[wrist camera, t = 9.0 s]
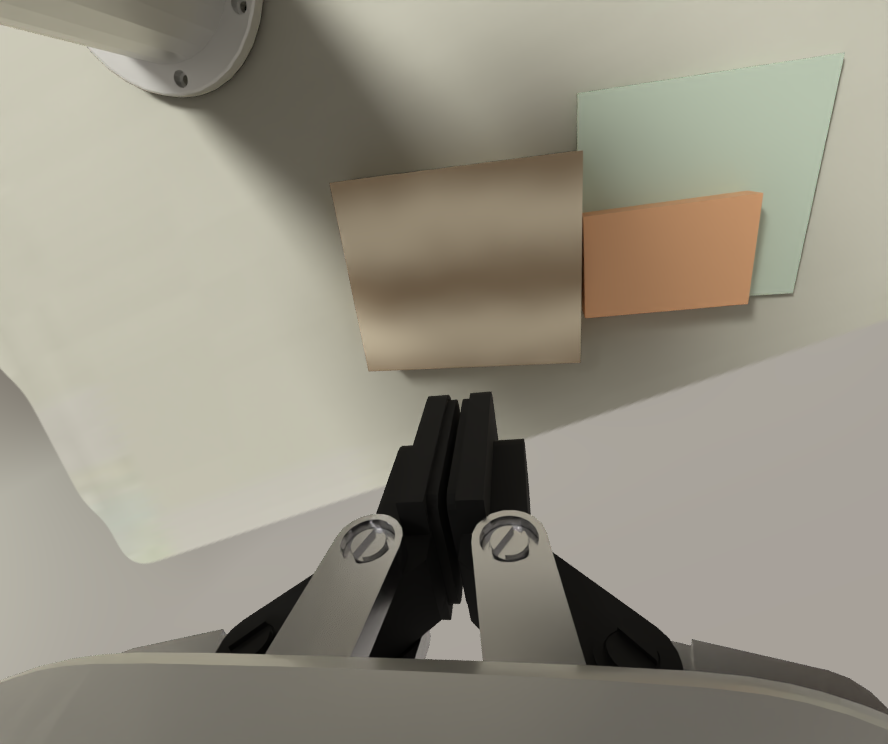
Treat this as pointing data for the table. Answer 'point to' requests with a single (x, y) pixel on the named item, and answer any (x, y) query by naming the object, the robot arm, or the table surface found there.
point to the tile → (669, 255)
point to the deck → (467, 263)
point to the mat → (717, 148)
